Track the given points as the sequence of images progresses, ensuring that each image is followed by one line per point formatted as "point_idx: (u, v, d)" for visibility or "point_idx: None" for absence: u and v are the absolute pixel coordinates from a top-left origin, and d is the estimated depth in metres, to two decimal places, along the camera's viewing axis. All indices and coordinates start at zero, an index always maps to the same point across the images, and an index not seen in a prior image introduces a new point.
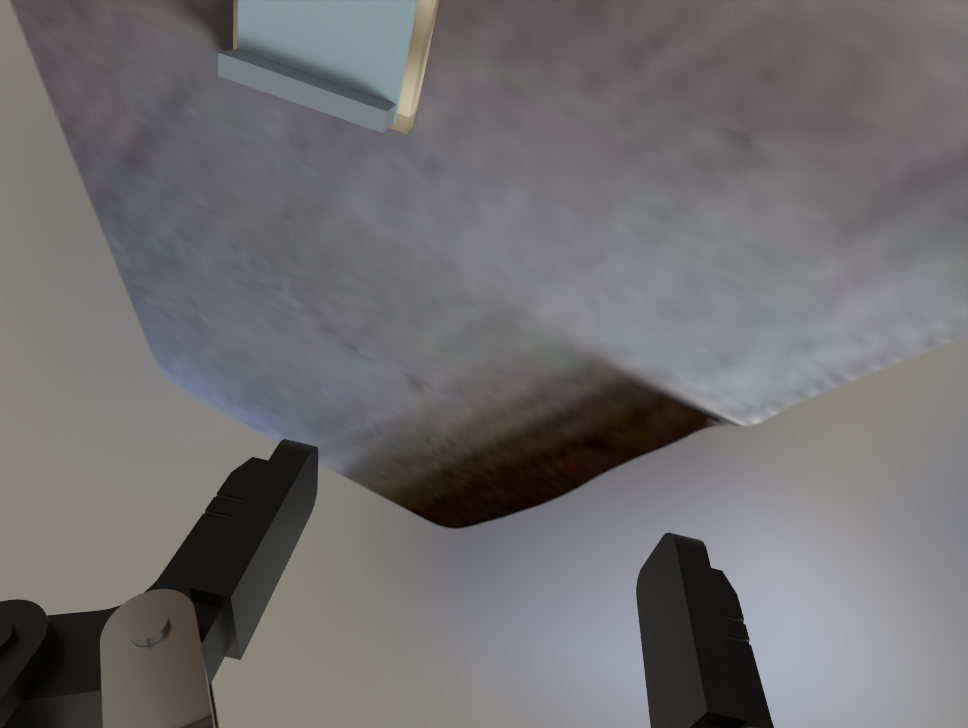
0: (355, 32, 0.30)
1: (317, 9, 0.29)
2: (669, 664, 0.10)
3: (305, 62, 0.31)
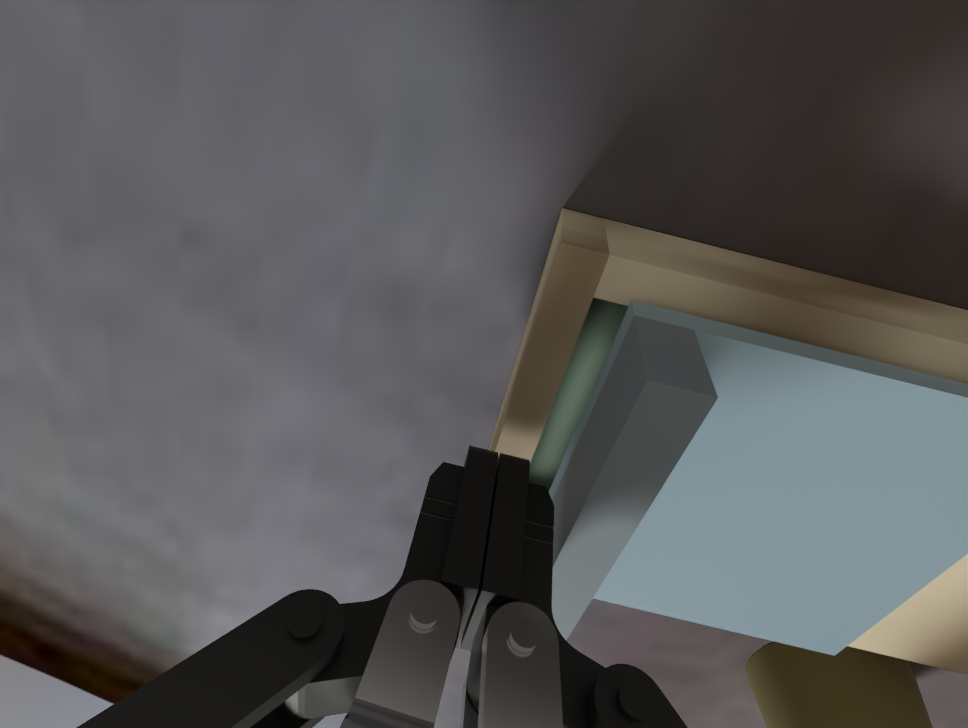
0: (689, 556, 0.14)
1: (745, 509, 0.13)
2: None
3: None
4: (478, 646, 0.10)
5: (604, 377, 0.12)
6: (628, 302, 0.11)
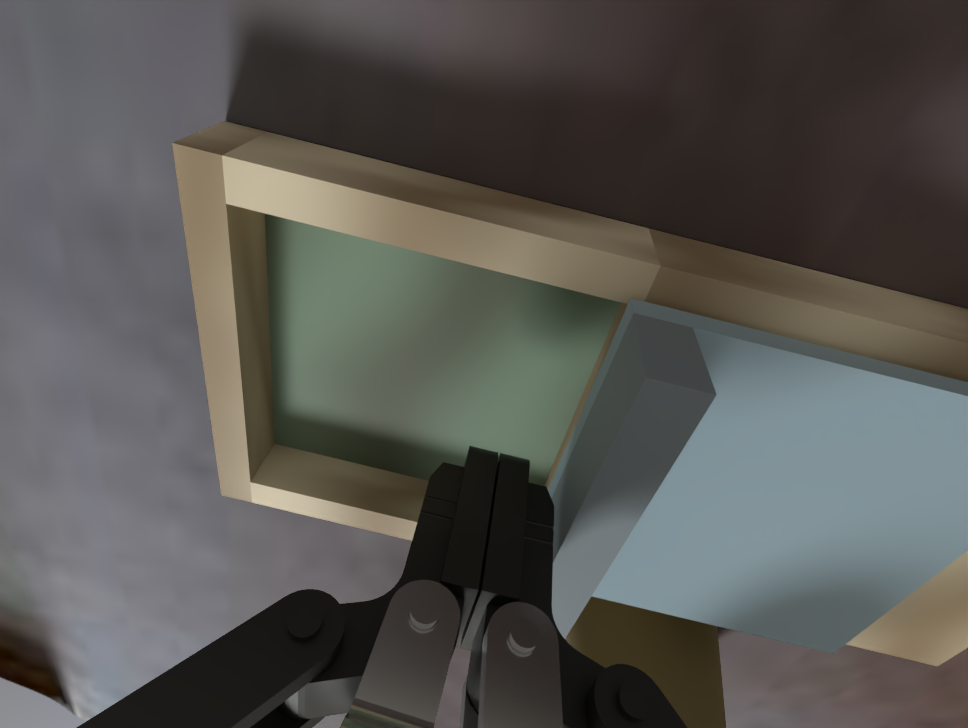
0: (687, 554, 0.14)
1: (743, 507, 0.13)
2: None
3: None
4: (478, 646, 0.10)
5: (603, 375, 0.12)
6: (260, 208, 0.11)
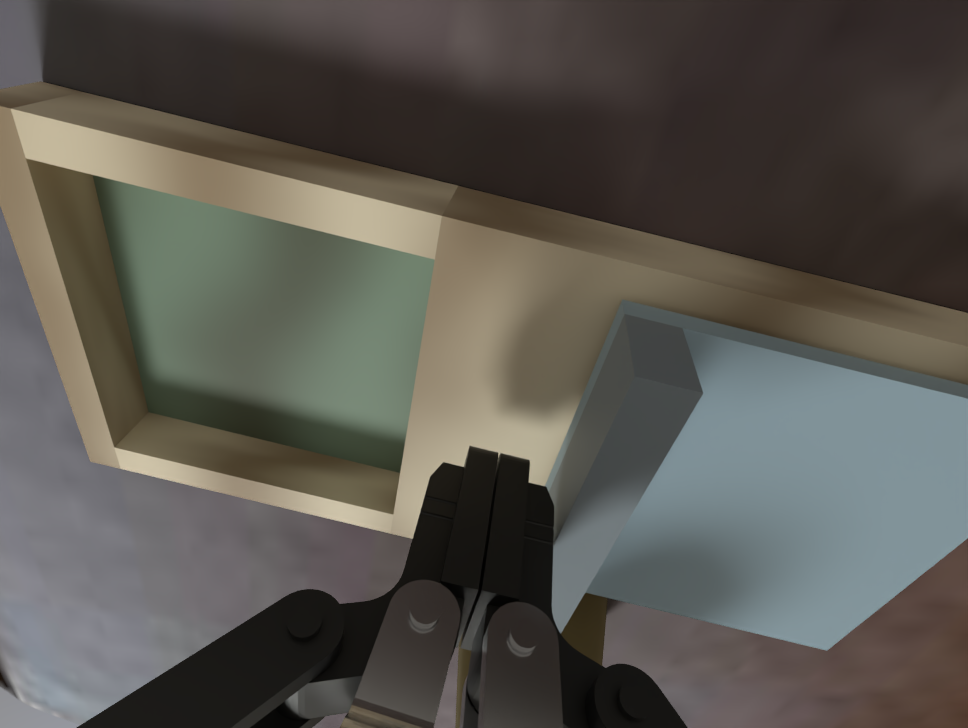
0: (681, 551, 0.15)
1: (735, 504, 0.13)
2: None
3: None
4: (478, 646, 0.10)
5: (596, 374, 0.12)
6: (59, 163, 0.11)
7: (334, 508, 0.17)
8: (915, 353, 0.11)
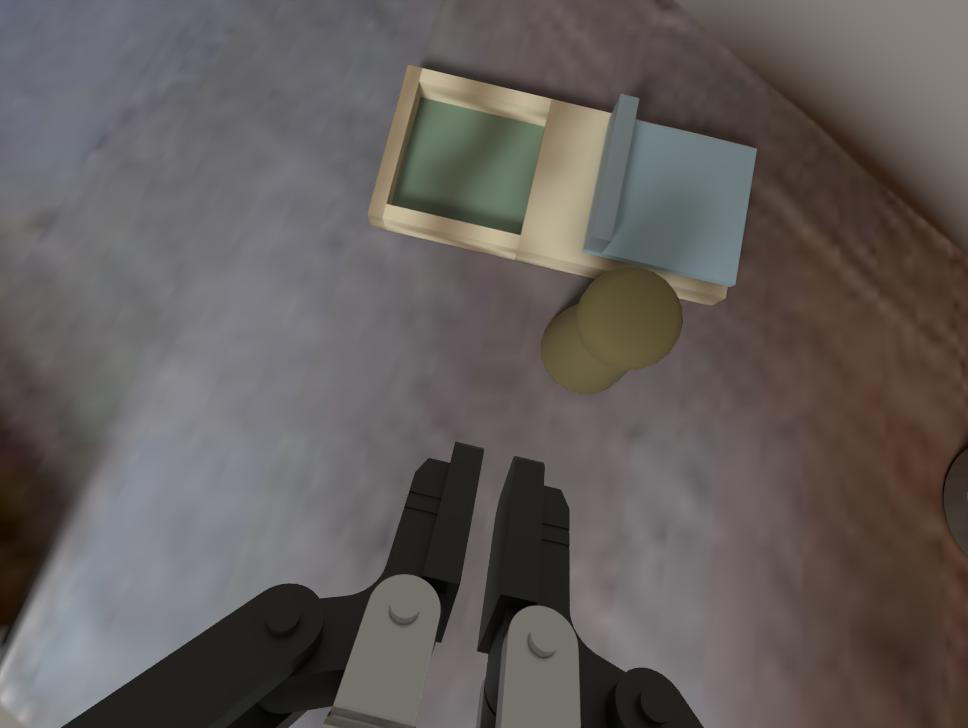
0: (653, 221, 0.35)
1: (665, 190, 0.35)
2: (495, 567, 0.11)
3: (625, 175, 0.35)
4: (497, 650, 0.10)
5: (605, 138, 0.35)
6: (430, 82, 0.36)
7: (491, 234, 0.35)
8: None
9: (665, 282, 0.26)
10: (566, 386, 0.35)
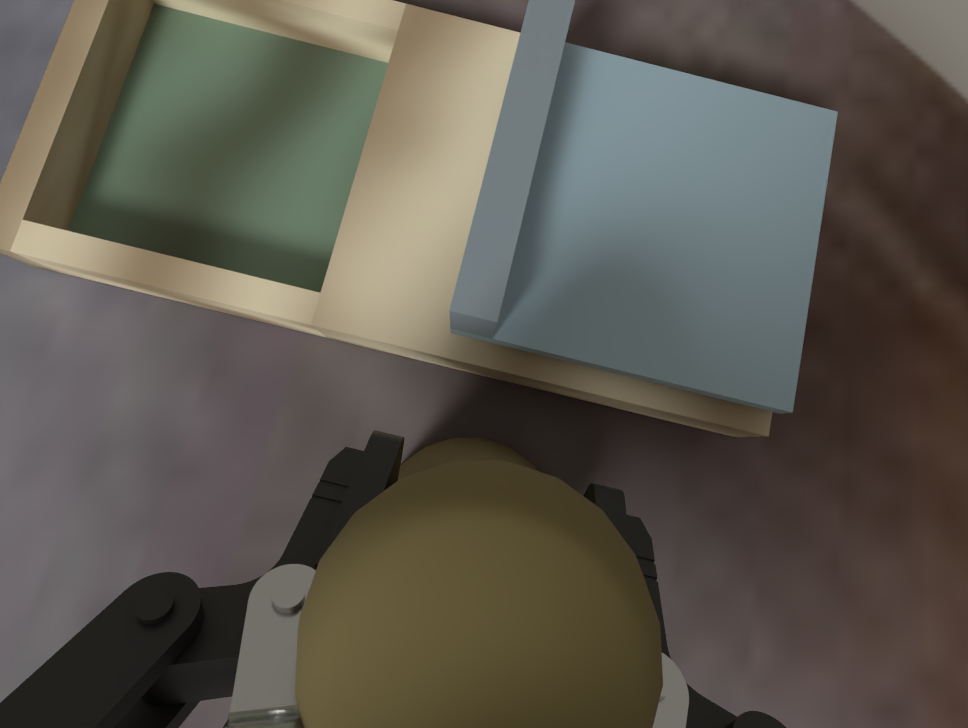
0: (611, 266, 0.16)
1: (640, 199, 0.16)
2: None
3: (551, 163, 0.16)
4: None
5: None
6: None
7: (254, 290, 0.16)
8: None
9: (598, 548, 0.07)
10: None
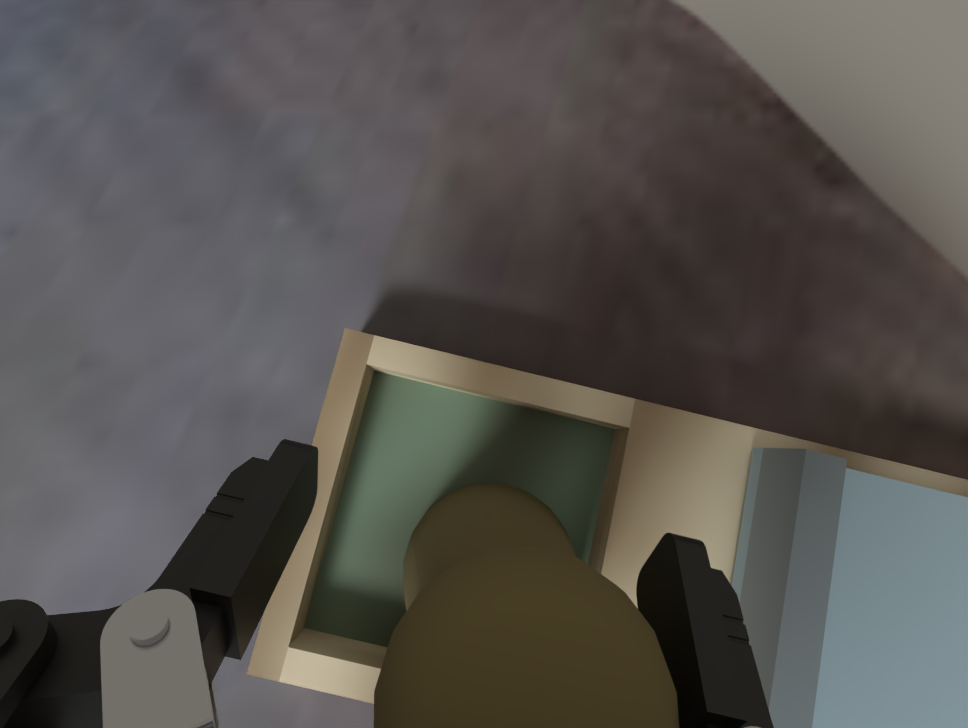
0: (860, 697, 0.16)
1: (882, 624, 0.16)
2: (669, 664, 0.10)
3: None
4: None
5: (752, 500, 0.17)
6: (388, 367, 0.18)
7: None
8: (930, 483, 0.18)
9: (626, 636, 0.08)
10: None
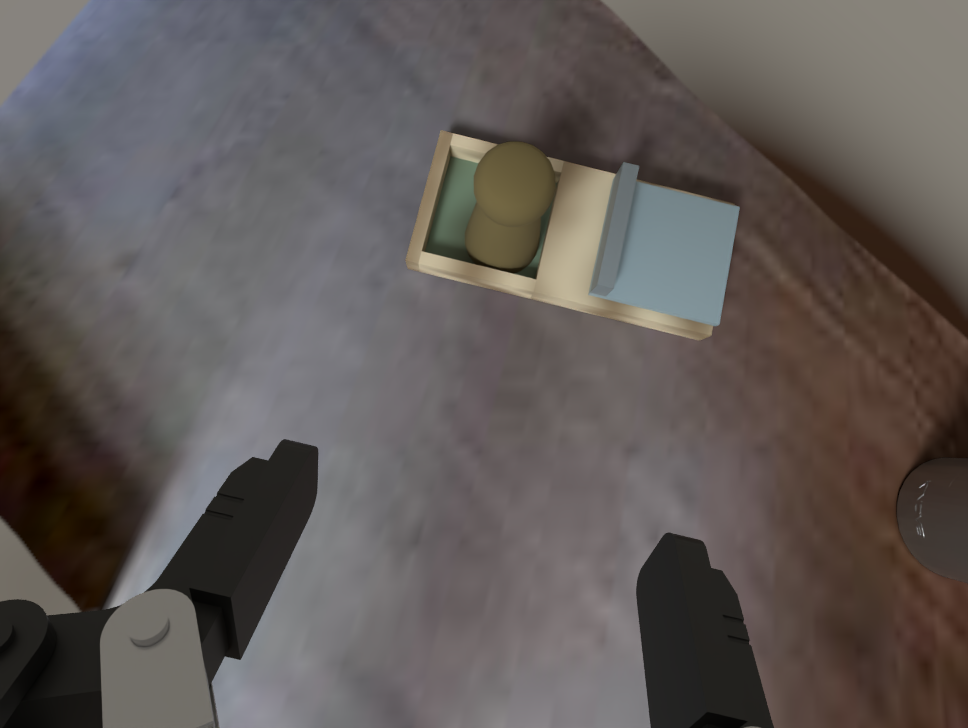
0: (650, 269, 0.40)
1: (661, 243, 0.41)
2: (669, 664, 0.10)
3: (626, 229, 0.41)
4: None
5: (610, 196, 0.41)
6: (459, 146, 0.42)
7: (511, 278, 0.41)
8: None
9: (540, 151, 0.33)
10: None
